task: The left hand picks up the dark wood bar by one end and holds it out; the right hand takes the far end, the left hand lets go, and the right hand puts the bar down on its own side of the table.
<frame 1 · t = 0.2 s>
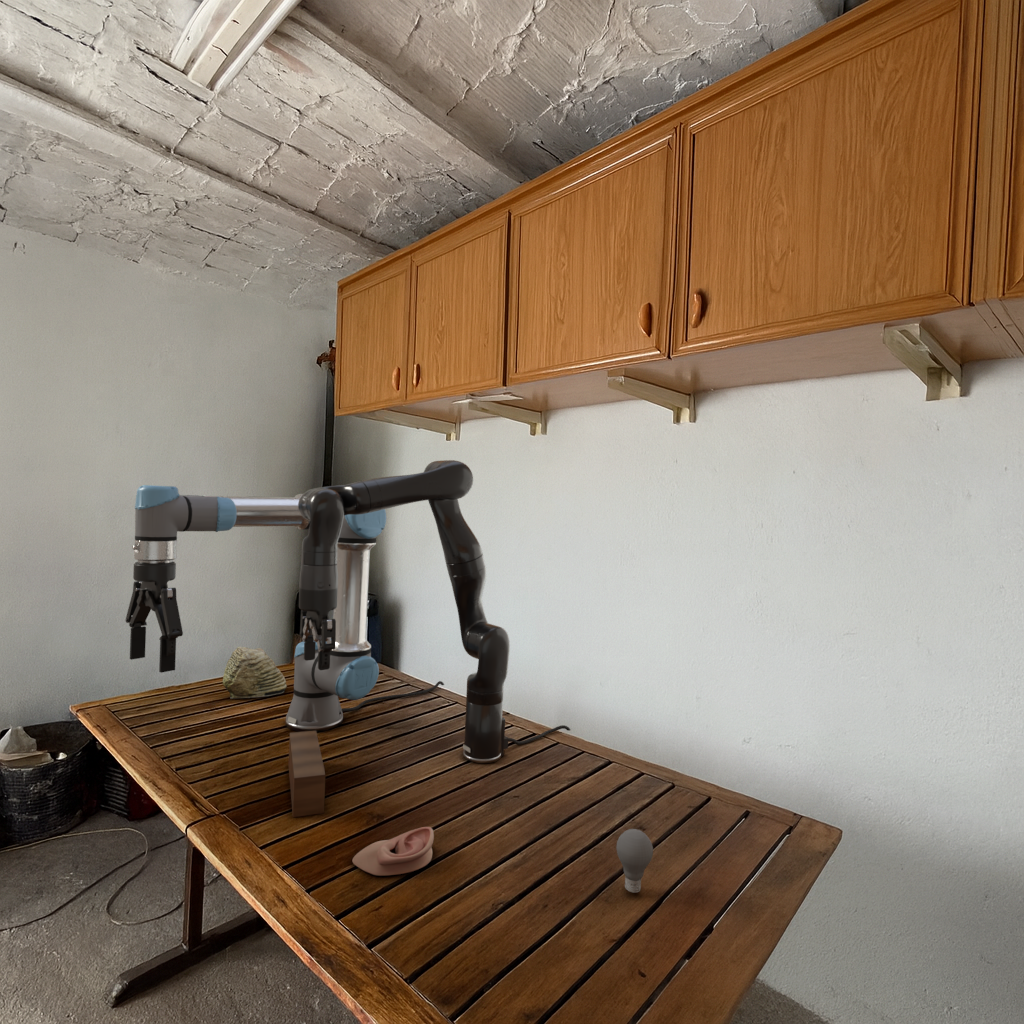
left hand: (151, 664, 130), 28 cm above the table, tool pointing down, fingers open, 13 cm apart
right hand: (316, 664, 130), 29 cm above the table, tool pointing down, fingers open, 8 cm apart
light bulb: (632, 891, 106), on the table
anatomical model: (393, 859, 112), on the table
fossil: (254, 694, 198), on the table
bar: (304, 787, 138), on the table
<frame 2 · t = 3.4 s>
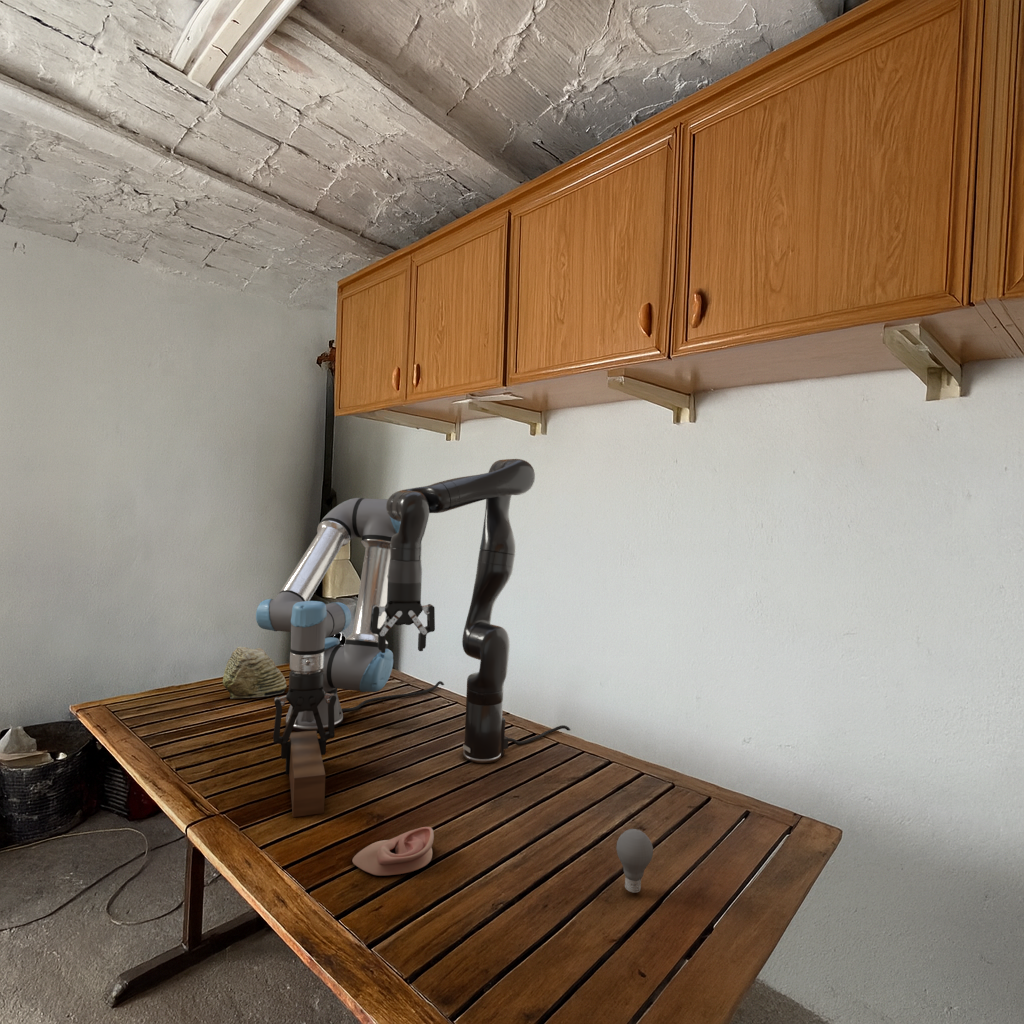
left hand: (302, 770, 145), 0 cm above the table, tool pointing down, fingers closed on bar, 6 cm apart
right hand: (401, 651, 143), 29 cm above the table, tool pointing down, fingers open, 8 cm apart
bar: (304, 787, 138), on the table, touching left hand
everything else where it was.
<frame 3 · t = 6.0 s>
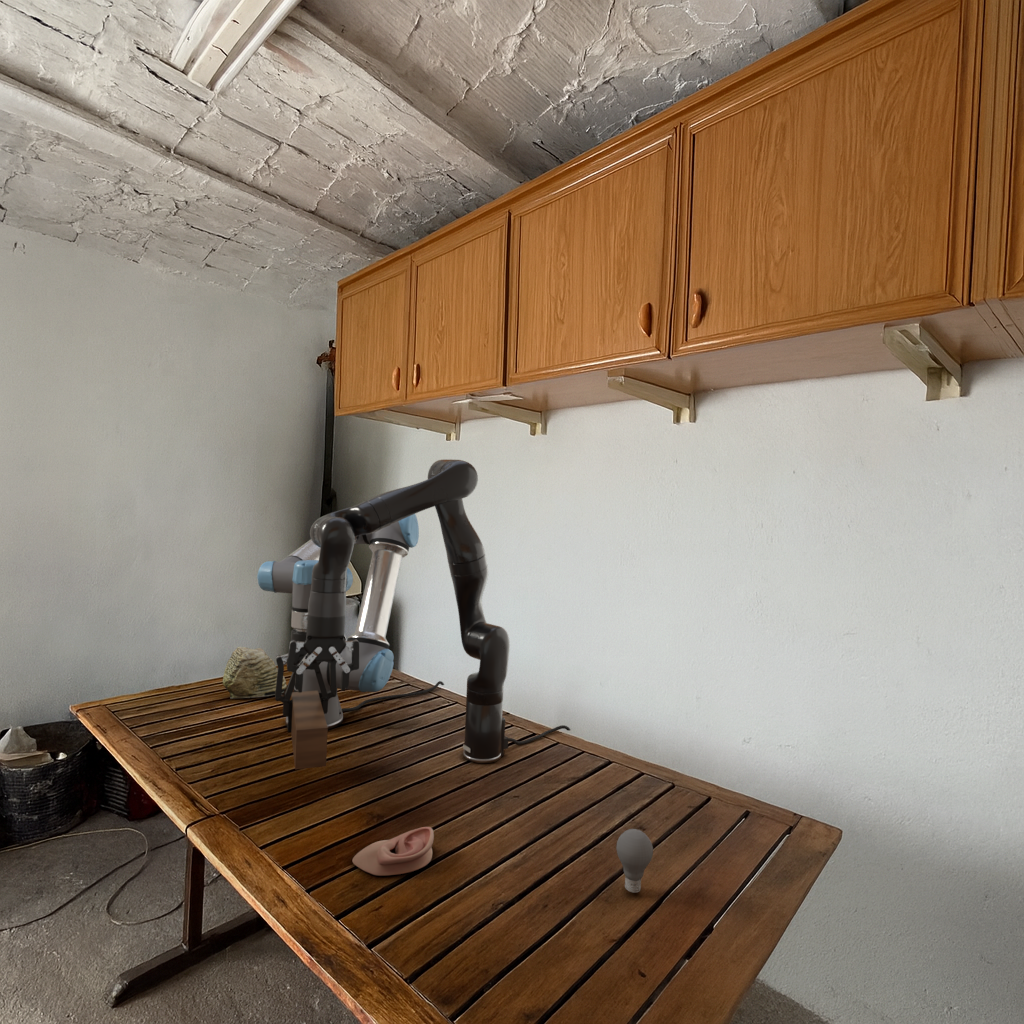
left hand: (304, 728, 145), 10 cm above the table, tool pointing down, fingers closed on bar, 6 cm apart
right hand: (321, 690, 131), 23 cm above the table, tool pointing down, fingers open, 8 cm apart
bar: (306, 744, 137), point 9 cm above the table, touching left hand
everything else where it was.
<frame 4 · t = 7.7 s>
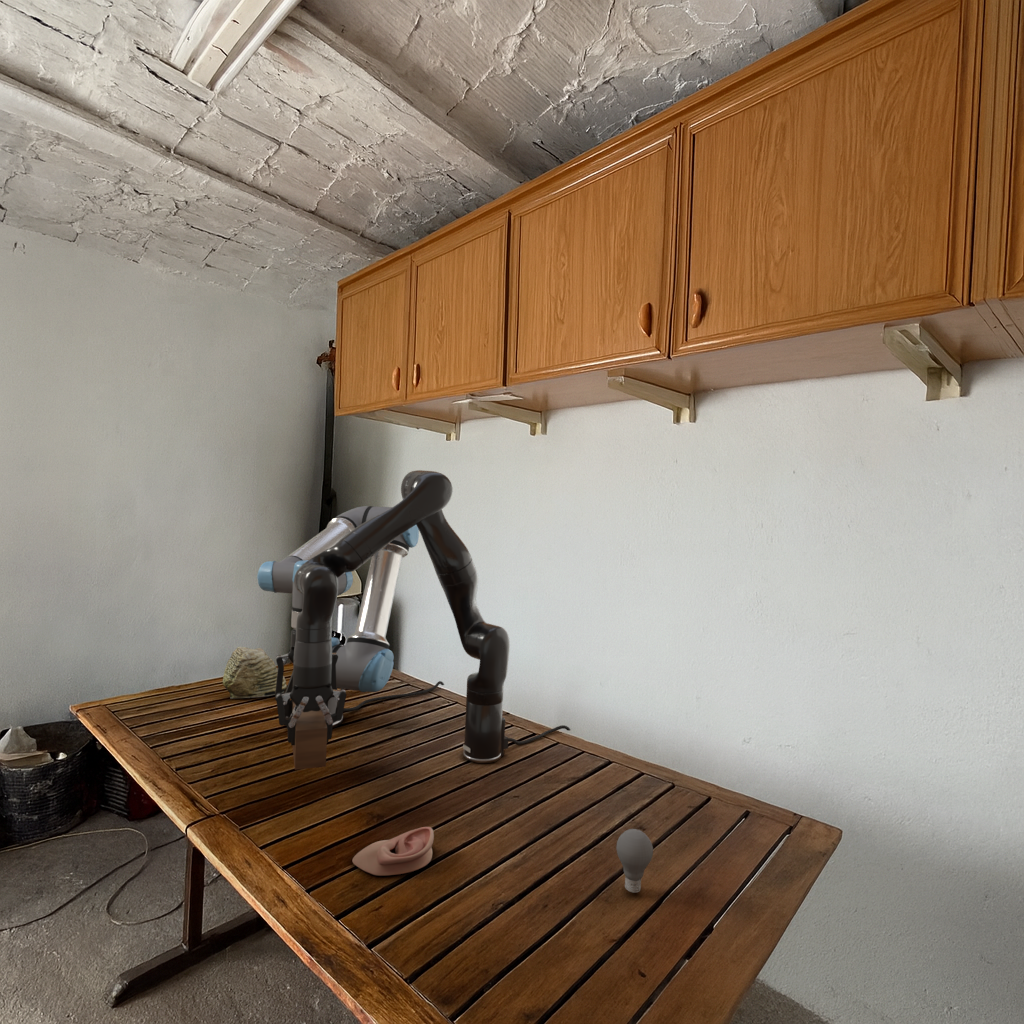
left hand: (304, 728, 145), 10 cm above the table, tool pointing down, fingers closed on bar, 6 cm apart
right hand: (309, 742, 130), 13 cm above the table, tool pointing down, fingers closed on bar, 6 cm apart
bar: (306, 744, 137), point 9 cm above the table, touching left hand, right hand
everything else where it was.
when the left hand's fingers open (10 cm above the table, at t = 8.6 s): bar stays where it is, held by the right hand.
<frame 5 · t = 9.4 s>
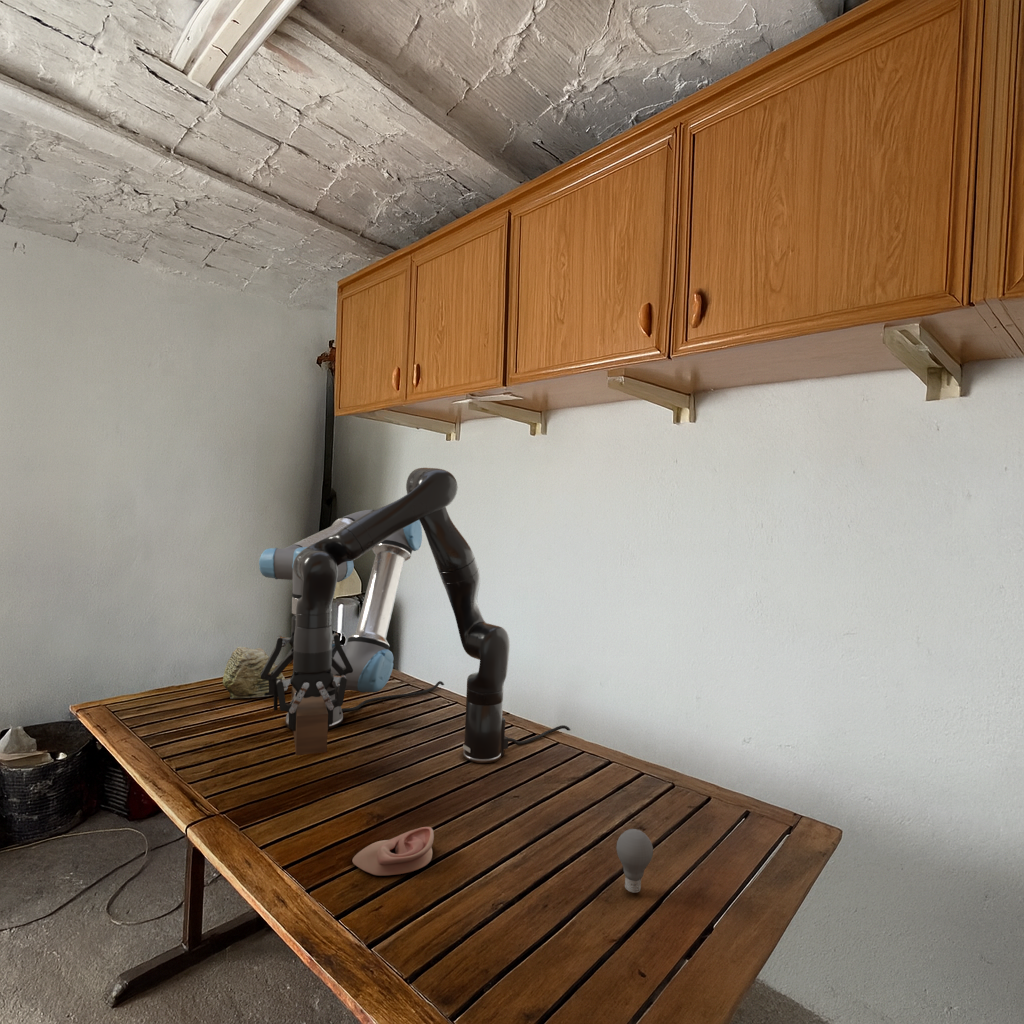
left hand: (306, 705, 147), 15 cm above the table, tool pointing down, fingers open, 13 cm apart
right hand: (310, 728, 130), 16 cm above the table, tool pointing down, fingers closed on bar, 6 cm apart
bar: (307, 730, 138), point 12 cm above the table, touching right hand
everything else where it was.
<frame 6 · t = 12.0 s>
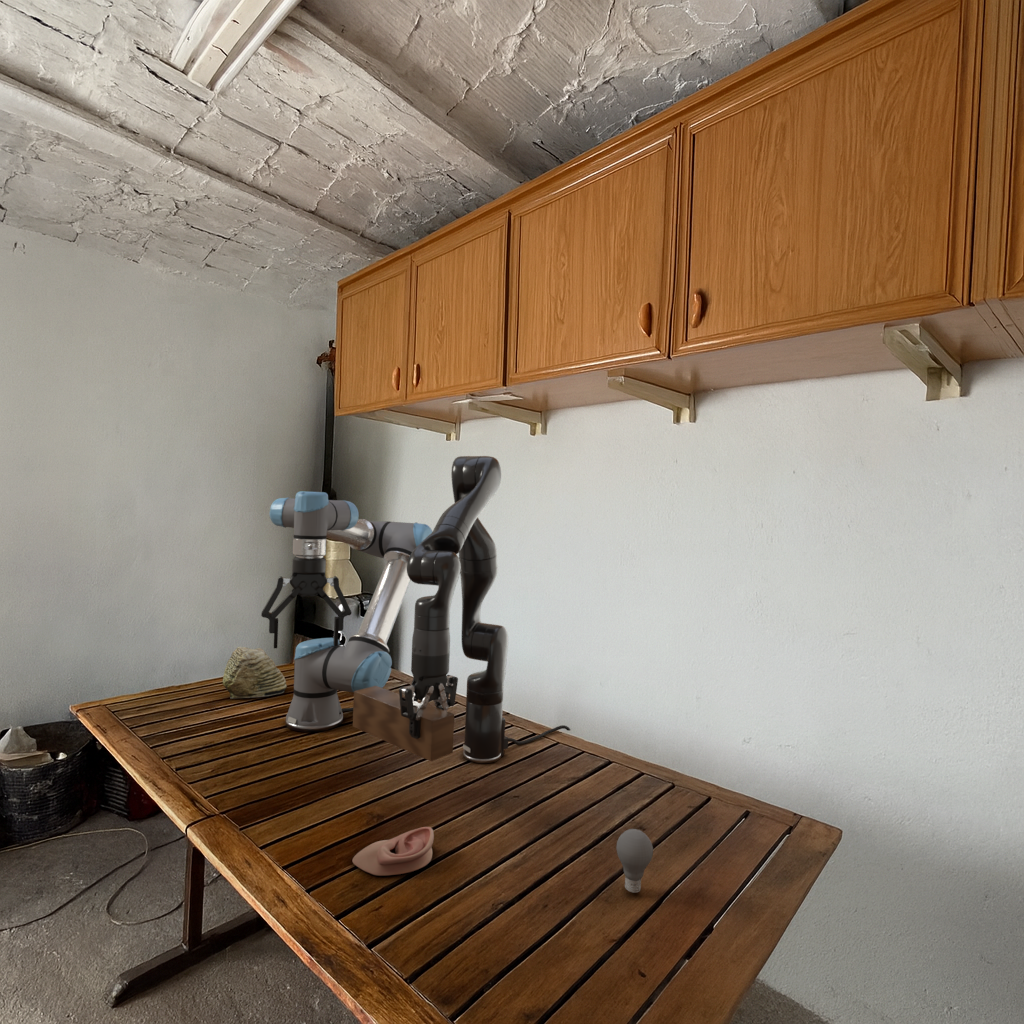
left hand: (306, 645, 150), 28 cm above the table, tool pointing down, fingers open, 13 cm apart
right hand: (427, 732, 127), 17 cm above the table, tool pointing down, fingers closed on bar, 6 cm apart
bar: (400, 739, 132), point 14 cm above the table, touching right hand
everything else where it was.
when the right hand's fingers open (5 cm above the table, at t = 16.6 s): bar drops 1 cm, on the table.
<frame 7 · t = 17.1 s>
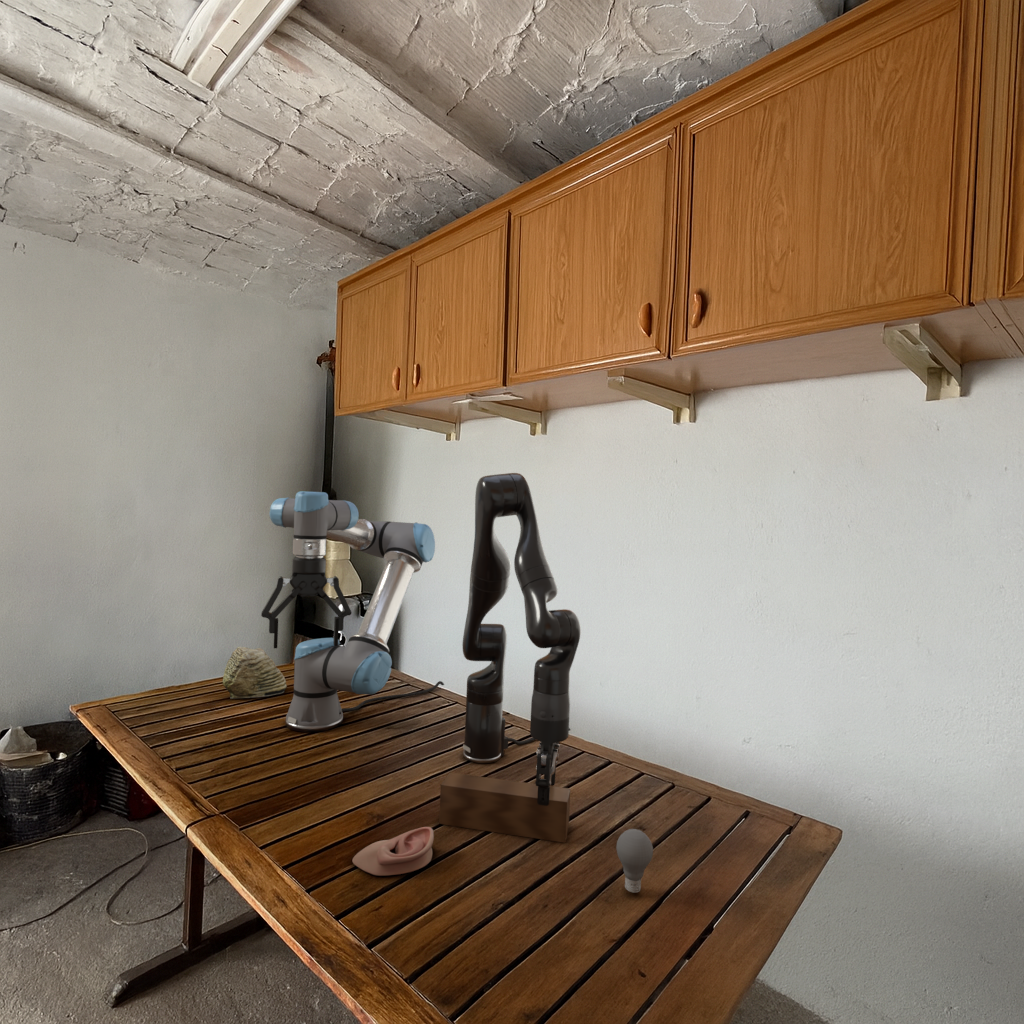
left hand: (306, 645, 150), 28 cm above the table, tool pointing down, fingers open, 13 cm apart
right hand: (546, 794, 124), 7 cm above the table, tool pointing down, fingers open, 8 cm apart
bar: (504, 825, 125), on the table
everything else where it was.
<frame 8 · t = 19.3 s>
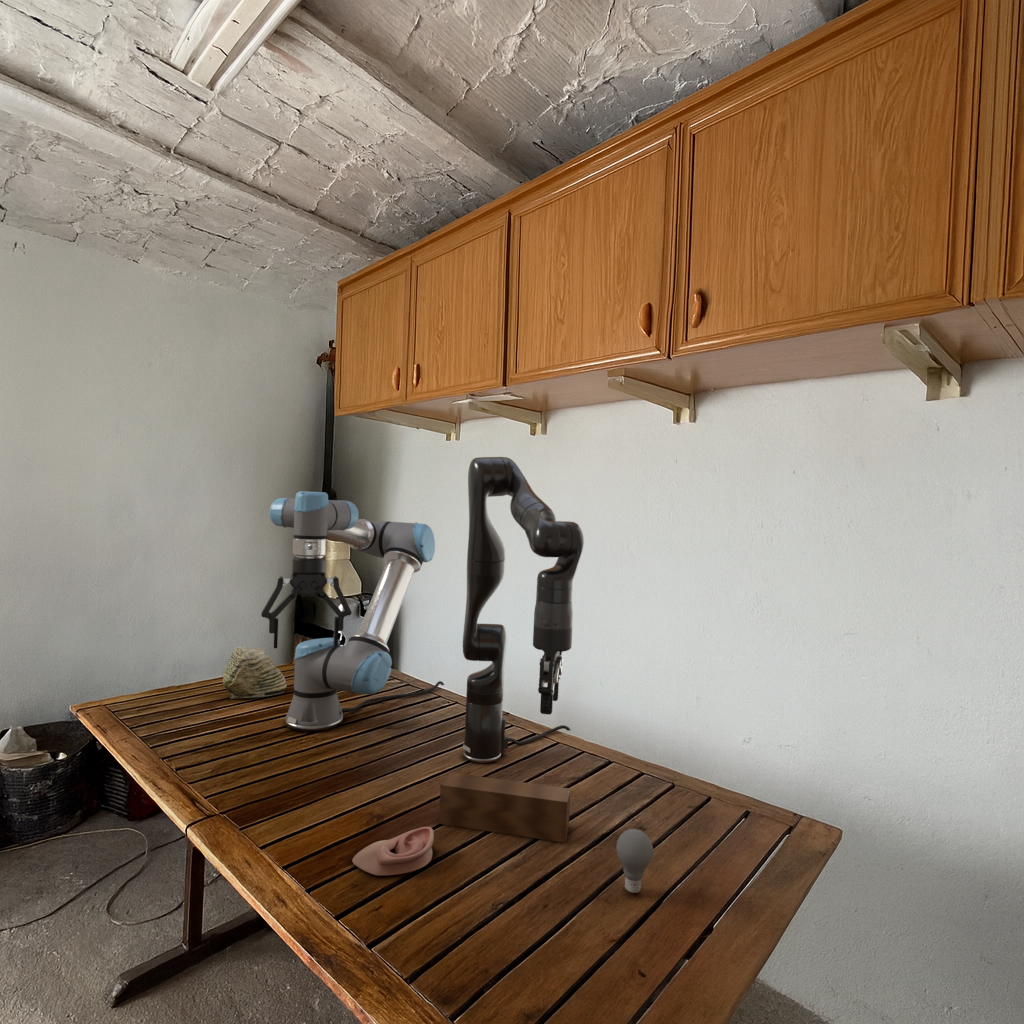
left hand: (306, 645, 150), 28 cm above the table, tool pointing down, fingers open, 13 cm apart
right hand: (549, 706, 123), 25 cm above the table, tool pointing down, fingers open, 8 cm apart
nothing on the table moved.
at the end: bar inside the target area (7.9 cm from its centre), on the table; the left hand is holding nothing; the right hand is holding nothing; bar at rest at the end (0.0 cm/s) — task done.
